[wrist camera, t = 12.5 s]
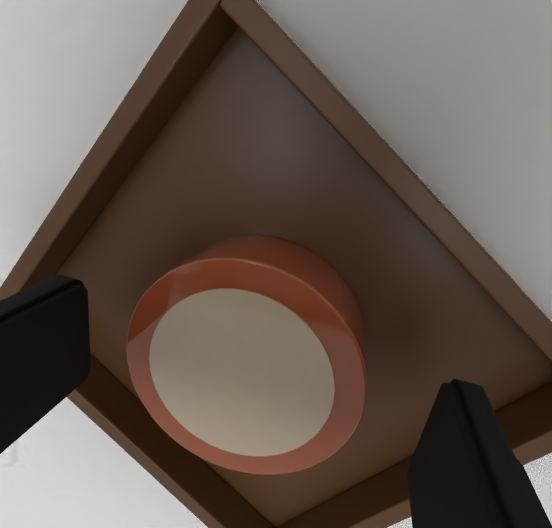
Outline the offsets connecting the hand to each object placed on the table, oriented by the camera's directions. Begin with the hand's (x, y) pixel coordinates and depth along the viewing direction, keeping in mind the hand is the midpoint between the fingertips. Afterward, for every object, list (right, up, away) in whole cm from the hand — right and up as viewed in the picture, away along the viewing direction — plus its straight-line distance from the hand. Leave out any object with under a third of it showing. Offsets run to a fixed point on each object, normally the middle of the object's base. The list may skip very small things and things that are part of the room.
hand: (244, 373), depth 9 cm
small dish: (0, 0, +3) cm, 3 cm away
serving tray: (0, +1, +3) cm, 3 cm away
